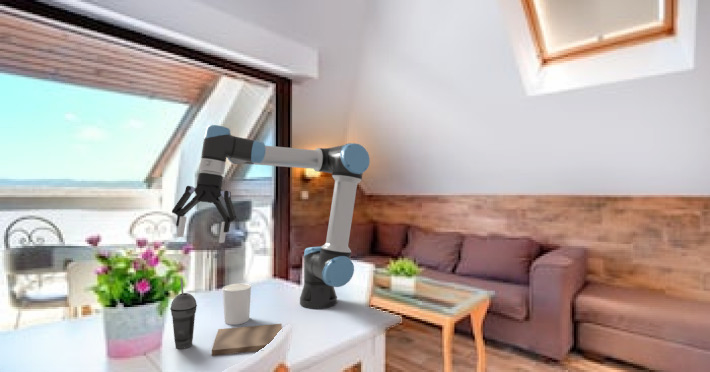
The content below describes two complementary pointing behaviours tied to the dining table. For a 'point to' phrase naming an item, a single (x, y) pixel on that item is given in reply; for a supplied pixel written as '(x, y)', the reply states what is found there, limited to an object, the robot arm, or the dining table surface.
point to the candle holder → (236, 303)
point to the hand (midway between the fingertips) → (200, 239)
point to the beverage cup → (183, 318)
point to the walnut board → (244, 339)
